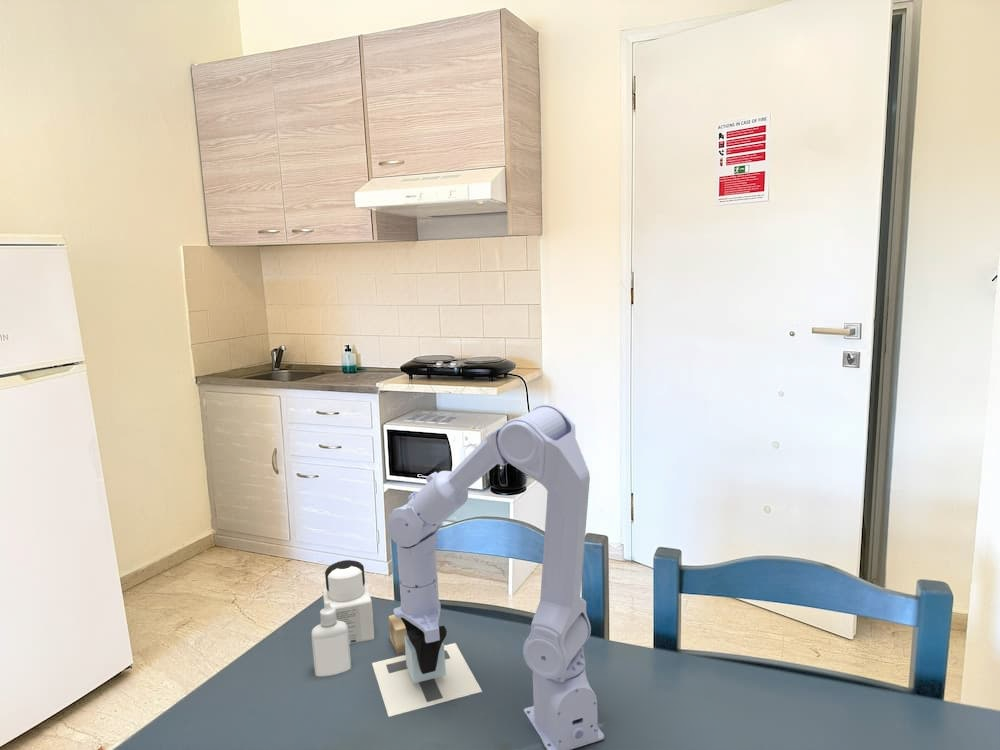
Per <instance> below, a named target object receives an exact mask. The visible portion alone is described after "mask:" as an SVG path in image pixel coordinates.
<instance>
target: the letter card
mask: <svg viewBox="0 0 1000 750" xmlns="http://www.w3.org/2000/svg"><path fill="white" fill-rule="evenodd" d="M460 650H461V649H459V647H458V645H457V643H456V642H454V643H448V644H444V652H445V669H446V675H445V676H441V677H437V678H433V679H429V680H425V681H421V682H418V683H413V680H412V678H411V675H410V673H409V670H408V668H407V665H406V654H405V655H399V656H395V657H392V658H388V659H387V658H386V659H383V660H378V661H376V662H375V661H374V662H371V664H372V668H373V671H374V674H375V675H374V676H375V678H376V680H377V684H378V687H379V691H380V694H381V696H382V700H383V703H384V707H385V709H386V713H387V717H389V718H390V717H394V716H397V715H401V714H404V713H408V712H411V711H417V710H419V709H423V708H427V707H431V706H434V705H437V704H441V703H445V702H449V701H452V700H456V699H459V698H463V697H467V696H472V695H474V694H478V693H483V690H482V688H481V686H480V685H479V683H478V681H477V680H476V678H475V675H474V674H473V672H472V670H471V669H470V667H469V664H468V663H467V661H466V660H465V658H464V656H463V654H462V653H461V651H460Z"/></svg>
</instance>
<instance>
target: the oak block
mask: <svg viewBox="0 0 1000 750" xmlns="http://www.w3.org/2000/svg"><path fill="white" fill-rule="evenodd" d="M388 626H389V640H390V641H391V643H392V646H393V648H394V650H395V652H396V655H401V654H406V652H405V638H404V636H406V635H407V631H406V627H405V625H404V623H403V621H402V620H401V618H396V617H395V616H394V614H392V615H389V616H388Z"/></svg>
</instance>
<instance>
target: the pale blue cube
mask: <svg viewBox="0 0 1000 750" xmlns="http://www.w3.org/2000/svg"><path fill="white" fill-rule="evenodd" d="M404 638H405V655H406V665H407V668H408V670H409V673H410V675H411V678H412V680H413V683H418V682H421V681H425V680H429V679H433V678H437V677H441V676H445V675H446V669H445V652H444V646H445V644H444V641H443V642H442V644H441V647H440V650H439V655H438V661H437V666H436V670H435V671H434V672H430V673H426V674H422V672H421V670H420V667H419V663H418V659H417V654H416V651H415V648H414V646H413V644H412V643H411V641H410V640H409V637H408V635H406V636H404Z"/></svg>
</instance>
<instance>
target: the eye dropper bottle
mask: <svg viewBox="0 0 1000 750" xmlns="http://www.w3.org/2000/svg"><path fill="white" fill-rule="evenodd" d="M323 607H324V608H322V609H320V611H319V619H320V623H319V624H317V625H316V626H314V627H313V628H312V630H311V644H312V656H313V657H312V658H313V666H314V668H313V669H314V675H315V677H329V676H335V675H338V674H342V673H344V672H347V671H349V670H351V669H352V659H351V649H350V648H351V647H350V644H349V635H348V627H347V624H346V623H345V622H343V621H338V620H337V618H336V609H335V608H334V607H331V606H330V602H329V601H326V602H325V605H324V604H323Z"/></svg>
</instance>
